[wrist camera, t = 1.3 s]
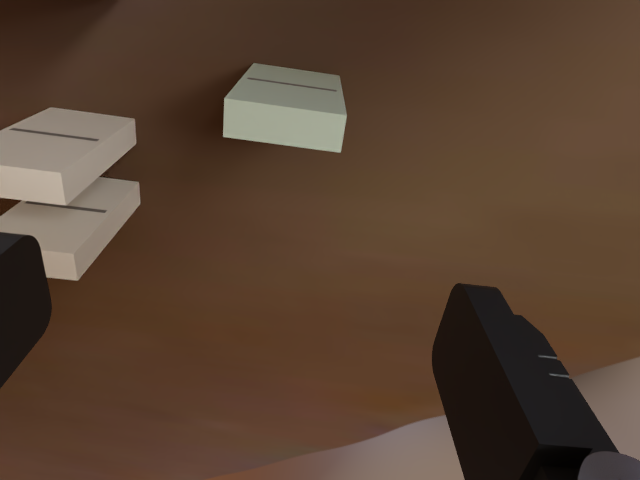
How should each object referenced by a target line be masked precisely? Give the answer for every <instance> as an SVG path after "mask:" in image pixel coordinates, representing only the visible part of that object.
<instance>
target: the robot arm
mask: <svg viewBox="0 0 640 480" xmlns="http://www.w3.org/2000/svg"><path fill="white" fill-rule="evenodd" d="M51 309H52V305H51V298H50V293H49V288H48V283H47V278H46V273H45V268H44V263H43V258H42V253H41V248H40V245H39V243H38V241H37V239H36V238H35V237H33V236H31V235H24V234H14V233H5V232H0V388H1V387H2V386H3V384H4V383H5V382H6V381H7V379H8V378H9V377H10V376H11V374H12V373H13V372H14V371H15V369H16V368H17V367H18V365H19V364H20V363H21V362H22V360H23V359H24V358H25V357H26V355H27V354H28V353H29V352H30V350H31V349H32V348H33V347H34V345H35V344H36V343H37V342H38V340H39V339H40V338H41V337H42V335H43V334H44V332H45V330H46V328H47V326H48V324H49V321H50V317H51ZM432 367H433V373H434V377H435V380H436V383H437V387H438V390H439V394H440V397H441V400H442V404H443V407H444V411H445V414H446V417H447V421H448V424H449V428H450V431H451V434H452V437H453V441H454V445H455V448H456V451H457V455H458V458H459V461H460V465H461V468H462V472H463V475H464V478H465V480H640V461H639V460H637V459H635V458H632V457H630V456H627V455H624V454H620V453H619V452H618V450H617V449H616V447H615V445H614V444H613V443H612V441H611V439H610V438H609V436H608V435H607V433H606V432H605V430H604V429H603V427H602V425H601V424H600V422H599V421H598V419H597V418H596V416H595V414H594V413H593V411H592V410H591V408H590V407H589V405H588V403H587V402H586V400H585V399H584V397H583V396H582V394H581V393H580V391H579V389H578V388H577V386H576V385H575V383H574V382H573V380H572V379H569V374H568V372H567V371H566V369H565V368H564V366H563V364H562V363H561V361H559V360H557V355H556V354H555V352H554V350H553V349H552V347H551V346H550V344H549V343H548V341H547V340H546V338H545V336H544V335H543V334H542V333H541V332H540V331H539V330H537V329H536V328H535V327H534V326H533V325H532V324H531V323H529V322H528V321H527V320H526V319H525V318H524V317H523V316H521V315H514V314H513V312H512V311H511V309H510V307H509V306H508V304H507V302H506V300H505V299H504V297H503V295H502V294H501V292H500V291H499V289H497V288H496V287H488V286H479V285H470V284H461V283H458V284H456V285H455V286H454V287H453V289H452V291H451V293H450V296H449V299H448V302H447V305H446V308H445V311H444V314H443V317H442V320H441V323H440V326H439V329H438V332H437V335H436V338H435V341H434V345H433V351H432Z"/></svg>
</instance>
